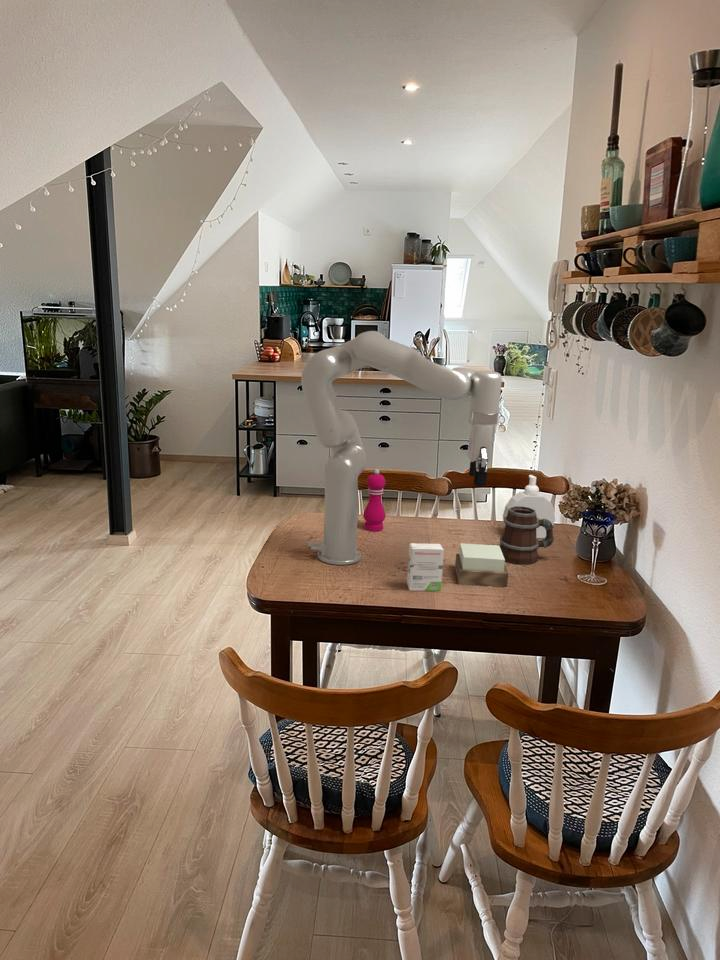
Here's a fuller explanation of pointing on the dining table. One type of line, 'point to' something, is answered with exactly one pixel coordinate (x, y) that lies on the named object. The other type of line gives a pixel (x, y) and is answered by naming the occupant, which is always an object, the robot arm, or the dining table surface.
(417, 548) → the ink box
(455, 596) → the dining table surface
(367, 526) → the pepper mill
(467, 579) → the tower base
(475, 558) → the tower top
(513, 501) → the soap bottle
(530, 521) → the mug
